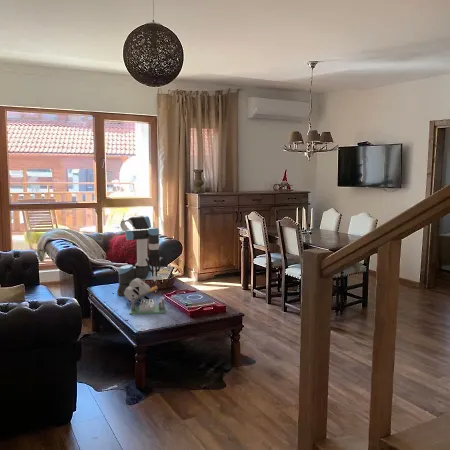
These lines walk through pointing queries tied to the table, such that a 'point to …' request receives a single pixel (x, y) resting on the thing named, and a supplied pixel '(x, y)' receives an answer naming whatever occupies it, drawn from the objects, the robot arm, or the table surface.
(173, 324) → the table surface
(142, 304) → the heatsink
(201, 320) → the table surface
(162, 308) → the lug
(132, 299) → the forked tab bracket
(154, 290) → the strap
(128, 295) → the robotic device
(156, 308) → the board
